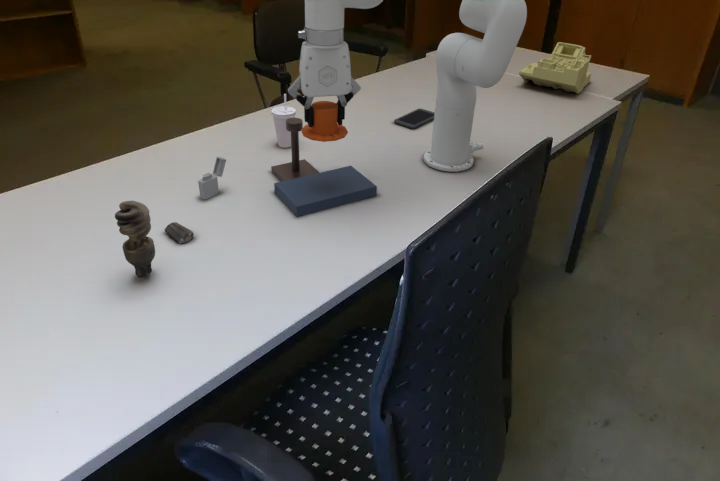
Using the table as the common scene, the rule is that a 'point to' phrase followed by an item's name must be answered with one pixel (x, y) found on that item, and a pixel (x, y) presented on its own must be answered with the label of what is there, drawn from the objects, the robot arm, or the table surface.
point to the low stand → (324, 190)
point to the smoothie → (283, 123)
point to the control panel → (561, 69)
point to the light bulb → (136, 236)
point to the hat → (324, 123)
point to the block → (179, 232)
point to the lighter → (211, 180)
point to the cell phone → (415, 118)
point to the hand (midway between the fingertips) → (324, 123)
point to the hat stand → (294, 156)
